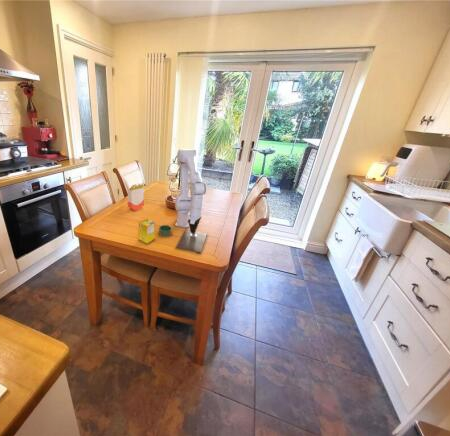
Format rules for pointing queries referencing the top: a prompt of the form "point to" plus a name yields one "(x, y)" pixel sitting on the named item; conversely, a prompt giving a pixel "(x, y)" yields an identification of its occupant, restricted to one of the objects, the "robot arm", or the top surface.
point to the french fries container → (136, 197)
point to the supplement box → (146, 231)
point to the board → (192, 242)
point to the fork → (193, 237)
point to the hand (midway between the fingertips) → (193, 230)
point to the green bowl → (165, 230)
